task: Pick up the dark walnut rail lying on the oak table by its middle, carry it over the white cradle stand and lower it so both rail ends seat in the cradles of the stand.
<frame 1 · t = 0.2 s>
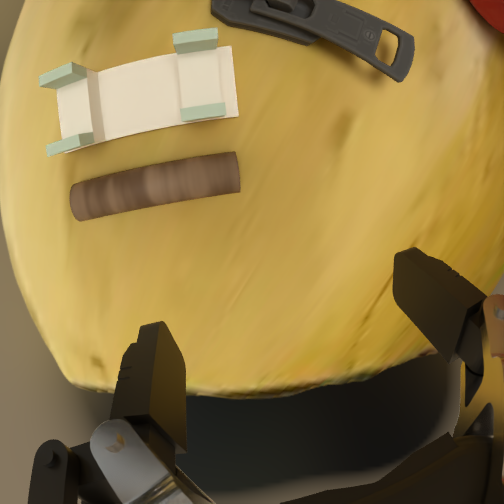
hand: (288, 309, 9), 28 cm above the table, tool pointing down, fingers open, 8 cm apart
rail: (155, 181, 34), on the table
zipper pull: (306, 24, 28), on the table
white cradle stand: (142, 96, 29), on the table
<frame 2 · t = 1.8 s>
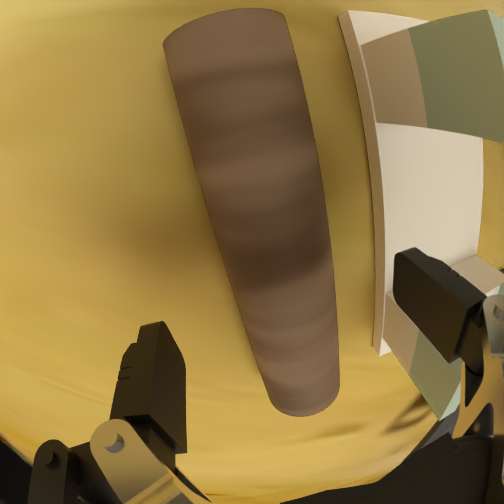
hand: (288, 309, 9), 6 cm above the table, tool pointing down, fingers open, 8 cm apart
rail: (261, 239, 15), on the table, tilted 8°
zipper pull: (453, 362, 25), on the table
white cradle stand: (430, 195, 15), on the table
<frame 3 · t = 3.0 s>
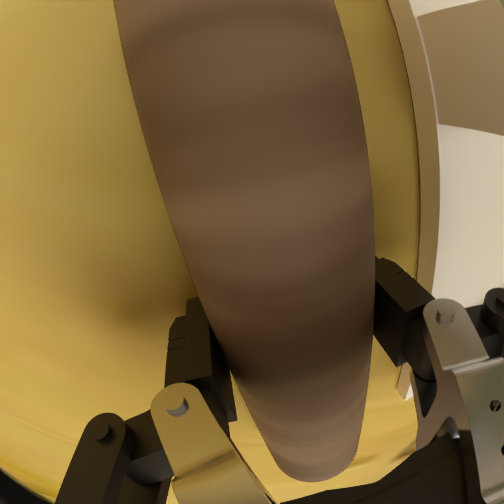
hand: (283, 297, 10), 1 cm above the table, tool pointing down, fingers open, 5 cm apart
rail: (272, 283, 11), on the table
white cradle stand: (479, 218, 11), on the table
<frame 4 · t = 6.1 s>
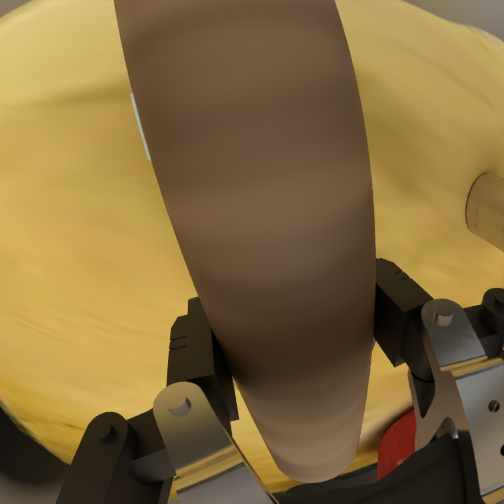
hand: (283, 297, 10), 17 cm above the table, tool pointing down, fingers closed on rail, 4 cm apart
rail: (275, 282, 11), point 16 cm above the table, touching gripper
mixing bowl: (407, 420, 55), on the table
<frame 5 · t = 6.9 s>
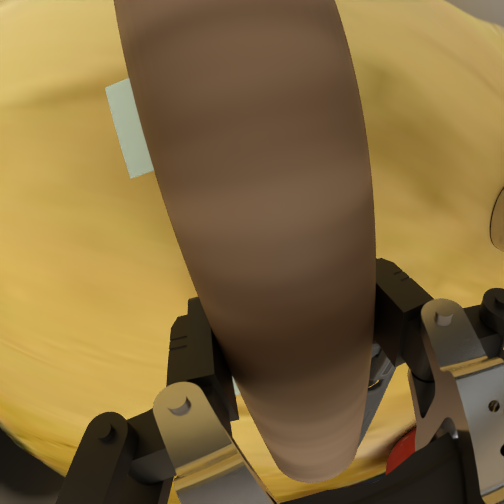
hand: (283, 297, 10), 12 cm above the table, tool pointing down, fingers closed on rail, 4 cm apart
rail: (275, 282, 11), point 11 cm above the table, touching gripper
mixing bowl: (416, 433, 51), on the table
zipper pull: (348, 368, 32), on the table
white cradle stand: (240, 203, 21), on the table
when the fingers open (6 cm above the table, at t = 8.8 s): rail stays where it is, resting on white cradle stand.
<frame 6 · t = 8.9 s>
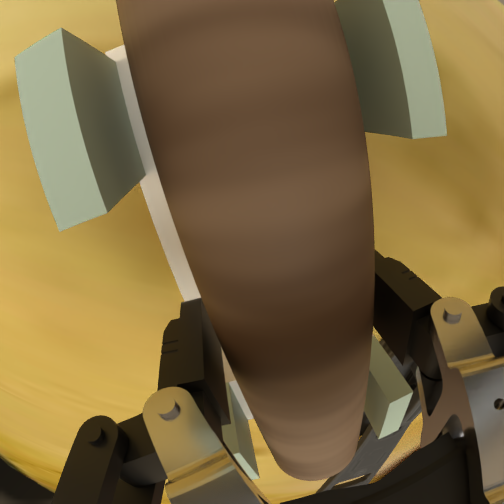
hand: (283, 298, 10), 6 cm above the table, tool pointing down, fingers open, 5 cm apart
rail: (275, 280, 11), point 5 cm above the table, touching white cradle stand
zipper pull: (365, 407, 26), on the table
white cradle stand: (253, 232, 15), on the table
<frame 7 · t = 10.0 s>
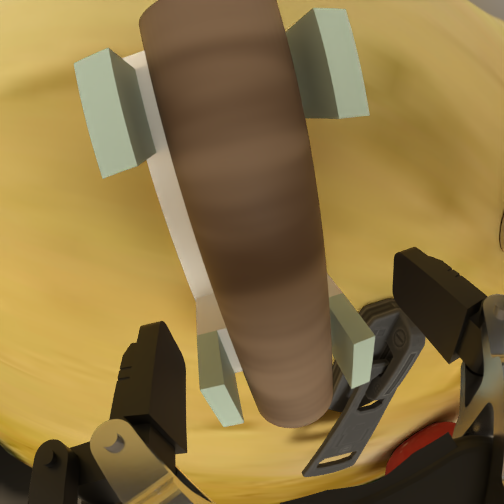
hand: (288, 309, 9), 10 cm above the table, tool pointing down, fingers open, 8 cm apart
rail: (253, 236, 14), point 5 cm above the table, touching white cradle stand
mixing bowl: (416, 438, 49), on the table
zipper pull: (347, 384, 30), on the table
white cradle stand: (239, 206, 18), on the table
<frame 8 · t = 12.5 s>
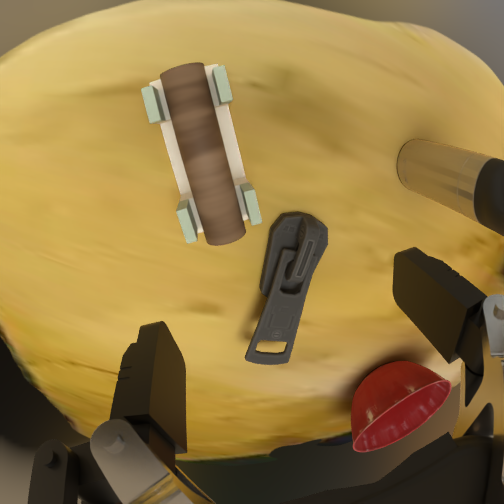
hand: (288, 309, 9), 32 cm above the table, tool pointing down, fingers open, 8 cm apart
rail: (203, 152, 32), point 5 cm above the table, touching white cradle stand
mixing bowl: (380, 379, 66), on the table
zipper pull: (279, 283, 48), on the table
white cradle stand: (203, 149, 36), on the table
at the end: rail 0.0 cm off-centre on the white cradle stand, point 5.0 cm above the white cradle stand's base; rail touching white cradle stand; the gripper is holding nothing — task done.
